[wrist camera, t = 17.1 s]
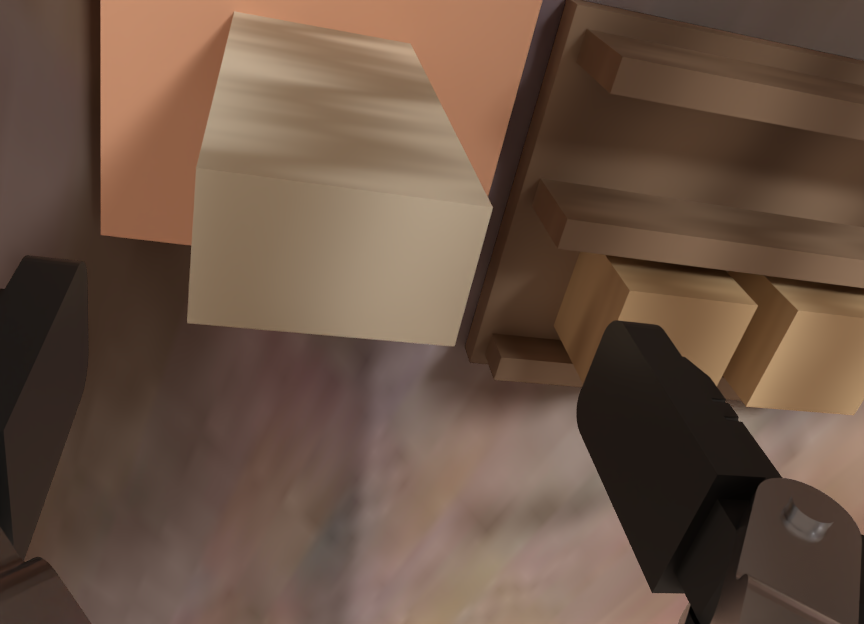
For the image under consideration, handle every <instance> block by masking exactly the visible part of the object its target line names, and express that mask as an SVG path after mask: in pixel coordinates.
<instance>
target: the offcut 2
mask: <svg viewBox="0 0 864 624" xmlns="http://www.w3.org/2000/svg"><path fill="white" fill-rule="evenodd" d="M728 274H729V275H730V276H731V277H732V278H733V279H734V280H735V281H736V282H737V283H738V285H739V286H740V287H741V288H742V289H743V290H744V291H745V292H746V293H747V294H748V295H749V296H750V298H751V299H752V300H753V301H754V302H755V303H756V304H757V305H758V307H757V309H756V311H755V313H754V315H753V317H752V319H751V321H750V323H749V325H748V327H747V328H746V330H745V332H744V334H743V336H742V338H741V340H740V342H739V344H738V346H737V348H736V350H735V352H734V354H733V356H732V358H731V360H730V362H729V364H728V366H727V368H726V369H725V371H724V373H723V377H724V378H725V379H726V381H727V382H728V383H729V385H730V386H731V387H732V389H733V390H734V391H735V393H736V394H737V395H738V397H739V398H740V399H741V401H742V402H743V403H744V404H745V406H746V407H758V408H771V409H783V410H796V411H808V412H821V413H833V414H845V415H854V414H855V412H856V411H857V409H858V408H859V406H860V405H861V403H862V402H863V400H864V288H859V287H851V286H843V285H835V284H828V283H820V282H812V281H804V280H797V279H789V278H781V277H773V276H766V275H758V274H750V273H742V272H735V271H729V273H728Z"/></svg>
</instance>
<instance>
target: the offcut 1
mask: <svg viewBox="0 0 864 624" xmlns="http://www.w3.org/2000/svg"><path fill="white" fill-rule="evenodd" d="M757 307H758V305H757V304H756V303H755V302H754V301H753V300H752V299H751V298H750V296H749V295H748V294H747V293H746V292H745V291H744V290H743V289H742V288H741V287H740V286H739V285H738V283H737V282H736V281H735V280H734V279H733V278H732V277H731V276H730V275H729V274H728V273H727V272H726V271H725V270H719V269H711V268H704V267H696V266H688V265H680V264H673V263H665V262H657V261H649V260H642V259H634V258H626V257H618V256H611V255H603V254H595V253H587V252H580V253H579V256H578V259H577V262H576V264H575V267H574V270H573V273H572V276H571V278H570V281H569V284H568V287H567V290H566V292H565V295H564V298H563V301H562V304H561V306H560V309H559V312H558V315H557V318H556V320H555V323H554V328H555V330H556V332H557V334H558V336H559V337H560V339H561V341H562V343H563V345H564V347H565V349H566V351H567V353H568V355H569V357H570V359H571V361H572V363H573V365H574V367H575V369H576V371H577V373H578V375H579V377H580V379H581V381H582V383H584V381H585V378H586V376H587V373H588V371H589V368H590V366H591V363H592V361H593V358H594V356H595V353H596V351H597V348H598V346H599V343H600V341H601V338H602V336H603V333H604V331H605V329H606V327H607V326H608V325H609V324H610V323H611V322H612V321H615V320H619V321H628V322H637V323H647V324H656V325H659V326H660V327H662V328H663V330H664V331H665V332H666V334H667V335H668V337H669V338H670V340H671V341H672V342H673V344H674V345H675V347H676V348H677V350H678V351H679V352H680V354H681V355H682V357H686V358H687V359H688V360H689V361H691V362H692V363H693V364H694V365H696V366H697V367H698V368H699V369H701V370H702V371H703V372H704V373H705V374H707V375H708V376H709V377H710V378H711V379H712V381H713V382H714V383H715V385H716V386H717V385H718V383H719V381H720V379H721V377H722V375H723V373H724V371H725V369H726V368H727V366H728V364H729V362H730V360H731V358H732V356H733V354H734V352H735V350H736V348H737V346H738V344H739V342H740V340H741V338H742V336H743V334H744V332H745V330H746V328H747V327H748V325H749V323H750V321H751V319H752V317H753V315H754V313H755V311H756V309H757Z"/></svg>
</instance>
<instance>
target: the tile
mask: <svg viewBox="0 0 864 624" xmlns="http://www.w3.org/2000/svg"><path fill="white" fill-rule="evenodd" d="M541 4H542V0H101V235H105V236H114V237H122V238H131V239H139V240H148V241H157V242H165V243H174V244H183V245H191V246H192V229H193V212H194V195H195V179H196V166H197V162H198V158H199V154H200V150H201V146H202V142H203V138H204V134H205V129H206V125H207V121H208V117H209V113H210V109H211V105H212V101H213V97H214V93H215V88H216V84H217V80H218V76H219V72H220V68H221V64H222V60H223V56H224V52H225V48H226V43H227V39H228V35H229V31H230V27H231V23H232V19H233V15H234V11H235V12H241V13H246V14H251V15H257V16H262V17H268V18H273V19H279V20H284V21H290V22H295V23H301V24H306V25H312V26H317V27H322V28H328V29H333V30H339V31H344V32H350V33H355V34H361V35H366V36H372V37H377V38H383V39H388V40H393V41H399V42H404V43H410V44H411V45H412V47H413V49H414V51H415V53H416V55H417V57H418V59H419V61H420V63H421V65H422V67H423V69H424V71H425V73H426V75H427V77H428V79H429V81H430V83H431V85H432V87H433V89H434V91H435V93H436V95H437V97H438V99H439V101H440V103H441V105H442V107H443V109H444V111H445V113H446V115H447V117H448V119H449V121H450V123H451V125H452V127H453V129H454V131H455V133H456V135H457V137H458V139H459V141H460V143H461V145H462V147H463V149H464V151H465V153H466V155H467V157H468V159H469V161H470V163H471V165H472V167H473V169H474V171H475V173H476V175H477V177H478V179H479V181H480V183H481V185H482V187H483V189H484V191H485V193H486V195H487V197H488V195H489V191H490V188H491V184H492V181H493V177H494V173H495V170H496V166H497V163H498V159H499V155H500V152H501V148H502V145H503V141H504V137H505V134H506V130H507V127H508V123H509V119H510V116H511V112H512V109H513V105H514V101H515V98H516V94H517V91H518V87H519V83H520V80H521V76H522V73H523V69H524V65H525V62H526V58H527V55H528V51H529V47H530V44H531V40H532V36H533V33H534V29H535V26H536V22H537V18H538V15H539V11H540V8H541Z"/></svg>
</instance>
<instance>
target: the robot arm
mask: <svg viewBox="0 0 864 624" xmlns="http://www.w3.org/2000/svg"><path fill="white" fill-rule="evenodd" d="M87 367H88V289H87V269H86V265H85V263H84V262H83V261H75V260H66V259H56V258H47V257H38V256H29V255H27V256H25V257H24V258H23V259H22V261H21V262H20V264H19V266H18V268H17V269H16V271H15V273H14V274H13V276H12V278H11V279H10V281H9V283H8V285H7V286H6V288H5V289H0V624H91V622H90V621H89V620H88V618H87V617H86V615H85V614H84V612H83V611H82V609H81V608H80V606H79V605H78V603H77V602H76V601H75V599H74V598H73V596H72V595H71V593H70V592H69V590H68V589H67V587H66V586H65V584H64V583H63V581H62V580H61V579H60V577H59V576H58V574H57V573H56V571H55V570H54V569H53V568H52V566H51V565H50V564H49V563H48V562H47V561H46V560H44V559H43V558H41V557H35V558H33V559H31V560H29V561H27V562H24V559H25V556H26V553H27V550H28V547H29V544H30V542H31V539H32V536H33V533H34V530H35V527H36V524H37V522H38V519H39V516H40V513H41V510H42V507H43V505H44V502H45V499H46V496H47V493H48V490H49V488H50V485H51V482H52V479H53V476H54V473H55V471H56V468H57V465H58V462H59V459H60V456H61V454H62V451H63V448H64V445H65V442H66V439H67V437H68V434H69V431H70V428H71V425H72V422H73V419H74V417H75V414H76V411H77V408H78V405H79V402H80V400H81V397H82V394H83V390H84V386H85V381H86V375H87ZM725 400H726V399H725V397H724V396H723V395H722V393H721V392H720V390H719V389H718V388H717V386H716V385H715V383H714V382H713V381H712V379H711V378H710V377H709V376H708V375H707V374H705V373H704V372H703V371H702V370H701V369H699V368H698V367H697V366H696V365H694V364H693V363H692V362H691V361H689V360H688V359H687V358H686V357H682V355H681V354H680V352H679V351H678V350H677V348H676V347H675V345H674V344H673V342H672V341H671V340H670V338H669V337H668V335H667V334H666V332H665V331H664V330H663V328H662V327H660V326H659V325H656V324H647V323H637V322H628V321H619V320H615V321H612V322H611V323H610V324H609V325H608V326H607V327H606V329H605V331H604V333H603V336H602V338H601V341H600V343H599V346H598V348H597V351H596V353H595V356H594V358H593V361H592V363H591V366H590V368H589V371H588V373H587V376H586V378H585V381H584V383H583V386H582V388H581V391H580V394H579V397H578V402H577V424H578V428H579V431H580V434H581V436H582V438H583V441H584V443H585V445H586V447H587V449H588V452H589V454H590V456H591V458H592V460H593V463H594V465H595V467H596V469H597V472H598V474H599V476H600V478H601V480H602V483H603V485H604V487H605V489H606V492H607V494H608V496H609V498H610V500H611V503H612V505H613V507H614V509H615V512H616V514H617V516H618V518H619V520H620V523H621V525H622V527H623V529H624V531H625V534H626V536H627V538H628V540H629V543H630V545H631V547H632V549H633V551H634V554H635V556H636V558H637V560H638V563H639V565H640V567H641V569H642V571H643V574H644V576H645V578H646V580H647V583H648V585H649V587H650V589H651V591H652V593H685V595H686V597H687V599H688V601H689V603H688V605H687V607H686V608H685V610H684V612H683V613H682V615H681V617H680V620H679V623H678V624H864V535H861V533H860V530H859V528H858V526H857V524H856V523H855V521H854V520H853V518H852V517H851V516H850V515H849V514H848V512H847V511H846V510H845V509H844V508H843V507H842V506H840V505H839V504H838V503H837V502H836V501H835V500H833V499H832V498H831V497H829V496H828V495H826V494H825V493H823V492H821V491H820V490H818V489H816V488H814V487H812V486H810V485H807V484H805V483H802V482H799V481H796V480H792V479H787V478H782V477H781V475H780V474H779V473H778V471H777V470H776V468H775V467H774V466H773V464H772V463H771V462H770V460H769V459H768V457H767V456H766V455H765V453H764V452H763V450H762V449H761V448H760V446H759V445H758V443H757V442H756V441H755V439H754V438H753V436H752V435H751V434H750V432H749V431H748V429H747V428H746V427H745V425H744V424H743V422H739V421H738V418H739V417H738V416H737V414H736V413H735V411H734V410H733V409H732V407H731V406H730V404H728V403H725Z"/></svg>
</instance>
